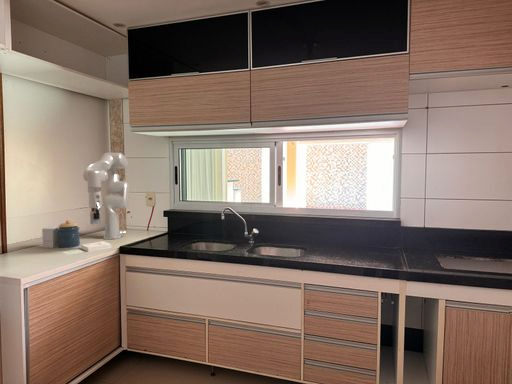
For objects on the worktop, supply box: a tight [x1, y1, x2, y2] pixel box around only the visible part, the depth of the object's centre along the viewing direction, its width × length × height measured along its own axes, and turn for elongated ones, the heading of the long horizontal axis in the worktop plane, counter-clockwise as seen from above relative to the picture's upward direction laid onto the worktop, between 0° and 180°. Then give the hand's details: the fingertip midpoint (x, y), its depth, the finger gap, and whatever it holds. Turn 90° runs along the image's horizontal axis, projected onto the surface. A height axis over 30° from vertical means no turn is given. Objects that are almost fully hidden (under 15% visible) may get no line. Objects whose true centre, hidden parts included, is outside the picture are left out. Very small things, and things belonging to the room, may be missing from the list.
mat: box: [61, 249, 84, 256], centre depth 209 cm, size 10×10×1 cm
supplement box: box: [41, 226, 59, 249], centre depth 226 cm, size 7×7×13 cm
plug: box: [89, 210, 102, 226], centre depth 218 cm, size 5×4×8 cm
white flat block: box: [80, 240, 112, 252], centre depth 219 cm, size 14×12×3 cm
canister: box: [57, 219, 81, 249], centre depth 226 cm, size 13×13×18 cm
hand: (95, 218), depth 218 cm, fingers closed on plug, 3 cm apart
